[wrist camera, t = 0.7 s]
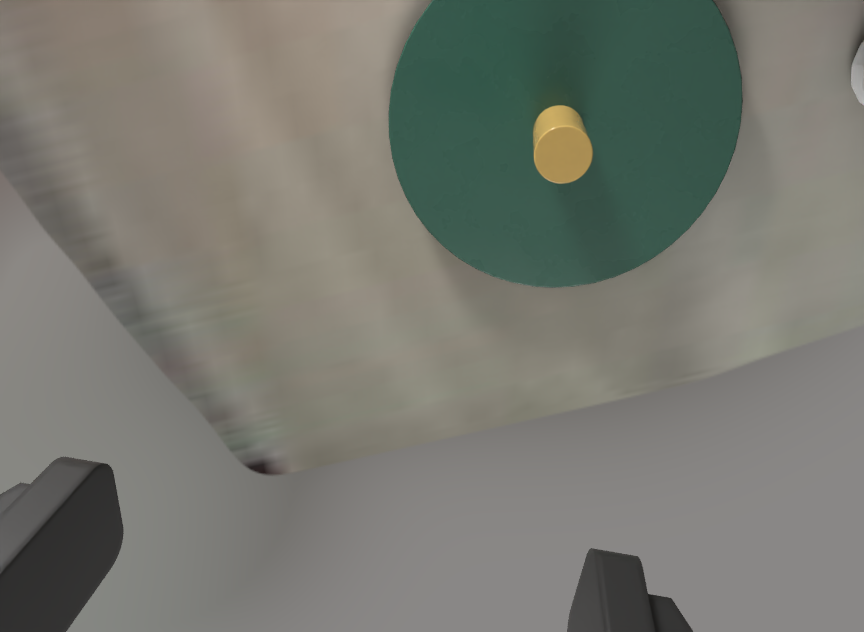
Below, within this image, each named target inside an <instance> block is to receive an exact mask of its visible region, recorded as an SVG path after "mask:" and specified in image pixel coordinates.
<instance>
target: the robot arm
mask: <svg viewBox="0 0 864 632" xmlns="http://www.w3.org/2000/svg"><path fill="white" fill-rule="evenodd" d="M122 540H123V524H122V518H121V513H120V507H119V502H118V496H117V490H116V485H115V479H114V474H113V470H112V468H111V467H110V466H109V465H108V464H104V463H98V462H92V461H87V460H81V459H74V458H69V457H61V458H58V459H56V460H55V461H53V462H52V463H51V464H50V465H49V466H48V467H47V468H46V469H45V470H44V471H43V472H42V473H41V474H40V475H39V476H38V477H37V478H36V479H35V480H34V481H33V482H32V483H31V484H26V483H19V484H18V485H16V486H14V487H12V488H11V489H9V490H7V491H6V492H4V493H2V494H0V632H66V631H67V630H68V628H69V627H70V625H71V624H72V623H73V621H74V619H75V618H76V617H77V615H78V614H79V613H80V611H81V610H82V608H83V607H84V606H85V604H86V603H87V601H88V600H89V599H90V597H91V596H92V594H93V593H94V592H95V590H96V589H97V587H98V586H99V585H100V583H101V582H102V580H103V579H104V578H105V576H106V574H107V573H108V572H109V570H110V569H111V567H112V566H113V564H114V562H115V561H116V559H117V556H118V554H119V551H120V548H121V545H122ZM567 632H693V631H692V629H691V627H690V626H689V624H688V623H687V622H686V620H685V618H684V617H683V615H682V614H681V613H680V611H679V609H678V608H677V606H676V605H675V603H674V602H673V600H672V599H671V598H668V597H661V596H656V595H650V594H648V593H647V588H646V582H645V577H644V572H643V567H642V564H641V561H640V559H639V557H638V556H633V555H627V554H621V553H615V552H609V551H603V550H597V549H592V548H591V549H590V550H589V551H588V553H587V556H586V559H585V563H584V566H583V569H582V573H581V576H580V579H579V583H578V586H577V589H576V593H575V596H574V600H573V603H572V606H571V610H570V614H569V620H568V629H567Z"/></svg>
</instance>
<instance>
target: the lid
mask: <svg viewBox="0 0 864 632" xmlns="http://www.w3.org/2000/svg"><path fill="white" fill-rule="evenodd" d="M742 102H743V100H742V77H741V72H740V66H739V61H738V55H737V51H736V48H735V45H734V42H733V39H732V37H731V34H730V31H729V28H728V26H727V24H726V22H725V20H724V19H723V17H722V15H721V13H720V11H719V9H718V7H717V6H716V4H715V3H714V2H713V0H432V1H431V3H430V4H429V6H428V7H427V8H426V10H425V11H424V13H423V14H422V16H421V17H420V18H419V20H418V21H417V23H416V25H415V26H414V28H413V30H412V32H411V34H410V36H409V38H408V40H407V42H406V44H405V46H404V48H403V51H402V54H401V56H400V59H399V62H398V65H397V67H396V71H395V76H394V80H393V84H392V88H391V96H390V105H389V138H390V145H391V152H392V158H393V162H394V165H395V169H396V173H397V176H398V179H399V181H400V184H401V186H402V189H403V191H404V193H405V196H406V198H407V200H408V201H409V203H410V205H411V207H412V208H413V210H414V212H415V214H416V215H417V217H418V218H419V219H420V220H421V222H422V223H423V224H424V226H425V227H426V228H427V230H428V231H429V232H430V233H431V234H432V235H433V236H434V237H435V238H436V239H437V240H438V241H439V242H440V243H441V244H442V245H443V246H444V247H445V248H446V249H448V250H449V251H450V252H451V253H453V254H454V255H455V256H456V257H458V258H459V259H461V260H462V261H464V262H466V263H467V264H469V265H471V266H472V267H474V268H476V269H478V270H480V271H482V272H484V273H487V274H489V275H491V276H493V277H496V278H499V279H503V280H506V281H509V282H512V283H517V284H523V285H528V286H535V287H551V288H555V287H573V286H579V285H585V284H591V283H596V282H599V281H602V280H606V279H609V278H613V277H616V276H618V275H620V274H623V273H625V272H627V271H630V270H632V269H634V268H636V267H638V266H640V265H641V264H643V263H645V262H647V261H649V260H650V259H652V258H654V257H655V256H656V255H658V254H659V253H661V252H662V251H663V250H665V249H666V248H668V247H669V246H670V245H672V244H673V243H674V242H675V241H676V240H677V239H678V238H679V237H680V236H681V235H682V234H684V233H685V232H686V231H687V230H688V229H689V228H690V226H691V225H692V224H693V223H694V222H695V221H696V219H697V218H698V217H699V216H700V215H701V214H702V213H703V211H704V210H705V208H706V207H707V205H708V204H709V202H710V201H711V199H712V198H713V196H714V195H715V193H716V192H717V190H718V188H719V186H720V184H721V182H722V180H723V178H724V176H725V174H726V172H727V170H728V167H729V164H730V161H731V159H732V156H733V153H734V150H735V147H736V142H737V138H738V134H739V129H740V124H741V113H742Z"/></svg>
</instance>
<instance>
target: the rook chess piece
mask: <svg viewBox="0 0 864 632" xmlns="http://www.w3.org/2000/svg"><path fill="white" fill-rule="evenodd" d="M851 86H852V88H853V90H854V93H855V95H856V97H857V99H858V101H859V102H860V103H861V104H863V105H864V41H863V42H862V43H861V44H860V47H859V49H858V51H857V54H856V56H855V58H854V61H853V63H852V70H851Z"/></svg>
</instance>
